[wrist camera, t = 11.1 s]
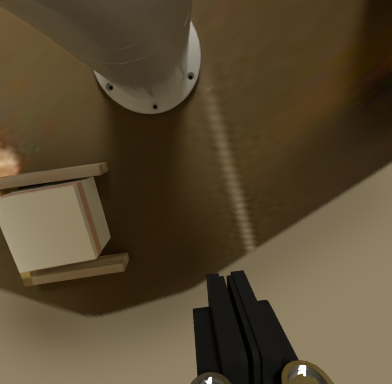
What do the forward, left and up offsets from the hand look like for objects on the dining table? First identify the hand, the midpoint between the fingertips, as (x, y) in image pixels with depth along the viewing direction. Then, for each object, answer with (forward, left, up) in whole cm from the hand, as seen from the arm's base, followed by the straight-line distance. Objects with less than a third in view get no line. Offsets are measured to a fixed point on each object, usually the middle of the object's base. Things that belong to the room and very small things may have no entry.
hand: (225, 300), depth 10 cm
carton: (+1, -18, -22) cm, 28 cm away
